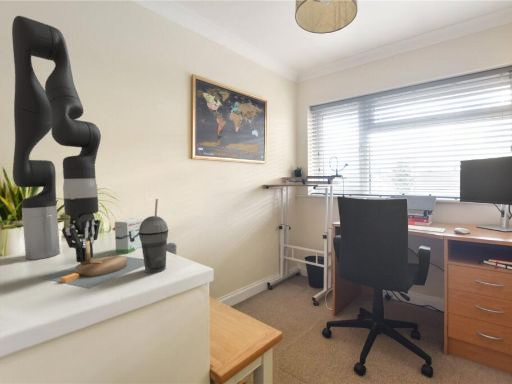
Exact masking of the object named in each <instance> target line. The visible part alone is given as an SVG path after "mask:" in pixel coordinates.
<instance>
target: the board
mask: <svg viewBox="0 0 512 384" xmlns="http://www.w3.org/2000/svg"><path fill="white" fill-rule="evenodd" d="M112 256H118V255H116V254H111V255H108V256H106V257H112ZM120 256H121V257H125V258H127V266H126V267H125V268H124V269H122V270H119V271H117V272H114V273H110V274H106V275H101V276H95V277H80V276H79V274H76V273H75V267H76V266H77V265H79V264H80V262H78V264H77V265H75V266H72V267H69V268H66V269H61V270H59V271H57V272H53V273H50V274H47V275H46V274H45V275H43V276H40V277H39V279H43V280H48V281H52V282H57V283H61V284H67V285H70V286H75V287H79V288H84V289H91V288H93V287H96V286H98V285H101V284H103V283H106V282H109V281H110V280H113V279H116V278H119V277H121V276H124V275H126V274H128V273H131V272H133V271H136V270H138V269H140V268H143V267H145V264H144V258H139V257H132V256H126V255H125V256H123V255H120Z"/></svg>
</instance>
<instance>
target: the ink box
mask: <svg viewBox="0 0 512 384" xmlns="http://www.w3.org/2000/svg"><path fill="white" fill-rule="evenodd" d="M143 221H144V219H143V218H128V219H122V220H117V221H116V220H115V222H114V235H115V237H114V238H115V253H116V254H124V255H127V254H131V253H133V252H136V251H138V250H139V249H142V244H141V241H140V237H139V234H138V233H139V227H140V225H141V223H142V222H143Z"/></svg>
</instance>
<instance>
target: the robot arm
mask: <svg viewBox="0 0 512 384" xmlns="http://www.w3.org/2000/svg"><path fill="white" fill-rule="evenodd" d="M11 30H12V31H11V37H12V39H11V40H12V50H13V51H12V52H13V63H14V100H13V101H14V102H13V104H14V105H13V117H14V118H13V119H14V150H13V151H14V152H13V163H12V165H13V166H12V179H13V182H14V185H16V186H17V187H19V188H42V190H41V191H40V192H38V193H36V194H34V195H32V196H28V197H25V198H23V199H22V200H21V203H20V204H21V215H22V217H21V218H22V226H23V227H22V228H23V238H24V239H23V241H24V253H25V260H40V259H46V258H51V257H54V256H58V255H60V253H61V248H60V234H59V233H60V232H59V223H58V222H59V217H58V207H57V189H56V181H57V180H56V179H57V176H56V173H57V172H56V167H55V164H54V163H53V161H51V160H48V159H47V160H44V159H29V158H30V155H31V153H32V151H33V149H34V148H35V147H36V145H38V143H40V141H41V140H42V139H43V138H44V137H46V135H47V134H48V133H49V132H50V131H51V136H52V138H53V140H54V141H55V142H56V143H57V144H58V145H60V146H64V147H71V148H73V147H74V148H80V151H79V153H78V155H71V156H65V157H64V158H63V159H62V174H63V175H62V176H63V177H62V178H63V183H62V184H63V185H62V186H63V187H62V192H63V193H62V194H63V208H64V209H63V210H64V214H65V215H67V216H69V217H70V219H69V222H68V223H69V225H68V226H67V227H62V230H61V232H62V235H63V237H64V239H65V242H66V243H67V245H68V248H70V249H71V248H73V249H75V260H76V262H77V263H80V262H85V261H86V260H87V254H86V241H90V256H91V259H92V258H93V257H94V249H93V245H94V243H95V241H97V240H98V238H99V237H98V235H99V232H100V231H99V230H100V225H101V219H96V218H95V216H94V215H95V214H97V213H98V212H99V209H100V208H99V196H98V195H99V193H98V184H97V180H96V160H97V156H98V151H99V148H100V145H101V144H100V143H101V138H102V136H101V131H100V129H99V127H98V126H97V125H96V124H95V123H93V122H89V121H83V120H78V119H80V118H81V117H82V116H83V115H84V107H83V103H82V101H81V99H80V95H79V94H78V92H77V89H76V86H75V82H74V78H73V72H72V67H71V60H70V56H69V52H68V51H69V50H68V47H67V43H66V39H65V37H64V35H63V33H62V31H61V30H60V29H59V28H57V27H55V26H52V25H49V24H47V23H43V22H40V21H38V20H34V19H32V18H29V17H26V16H23V15H16V16H15V18H14V19H13V21H12V28H11ZM32 57H36V58H39V59H43V60H47V61H52V62H53V63H54V68H53V70H52V71H51V73H50V74H49V76H48V77H47V79H46V81H45V84H44V87H43V85H42V84H41V83H40V80H39V79H38V77H37V75H36V74H35V71H34V68H33V64H32V63H33V62H32Z"/></svg>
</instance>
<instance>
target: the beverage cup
mask: <svg viewBox="0 0 512 384" xmlns="http://www.w3.org/2000/svg"><path fill="white" fill-rule="evenodd" d="M158 201H159V198H156V199H155V204H154V205H155V207H154V215H153V216H148V217H146V218H144V219H143V222H142V223H141V225H140V227H139V233H138V234H139V237H140V241H141V244H142V248H141V249H142V255H143V257H142V258H143V259H144V264H145V266H144V269H145V273H147V274H157V273H161V272H164V271H165V270H166V268H167V267H166V266H167V243H168V237H169V236H168V235H169V228H168V227H169V226H168V224H167V222H166V221H165V219H164V218H162V217H160V216H157V215H158Z"/></svg>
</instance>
